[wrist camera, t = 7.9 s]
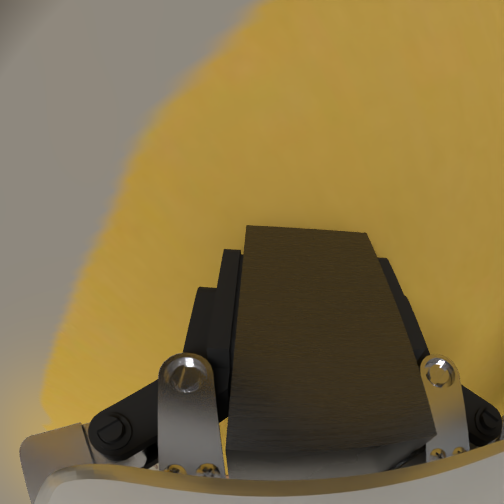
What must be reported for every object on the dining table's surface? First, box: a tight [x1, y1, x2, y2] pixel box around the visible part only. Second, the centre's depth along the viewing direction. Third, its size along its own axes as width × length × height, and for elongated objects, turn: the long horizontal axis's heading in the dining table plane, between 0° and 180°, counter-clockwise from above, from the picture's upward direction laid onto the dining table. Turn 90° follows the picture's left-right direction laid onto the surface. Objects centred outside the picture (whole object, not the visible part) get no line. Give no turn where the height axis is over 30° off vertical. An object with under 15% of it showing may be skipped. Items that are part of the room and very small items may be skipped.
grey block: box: [226, 225, 437, 481], centre depth 11 cm, size 12×7×7 cm, turn 177°
